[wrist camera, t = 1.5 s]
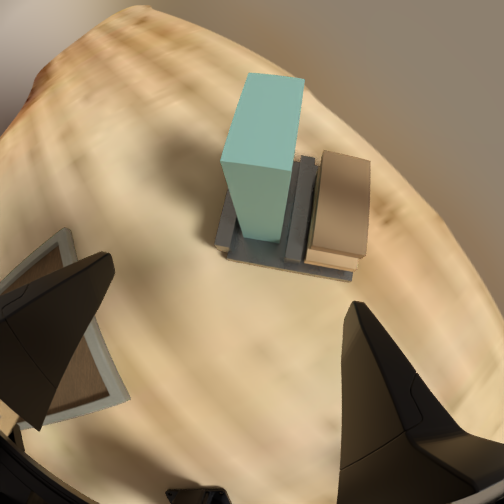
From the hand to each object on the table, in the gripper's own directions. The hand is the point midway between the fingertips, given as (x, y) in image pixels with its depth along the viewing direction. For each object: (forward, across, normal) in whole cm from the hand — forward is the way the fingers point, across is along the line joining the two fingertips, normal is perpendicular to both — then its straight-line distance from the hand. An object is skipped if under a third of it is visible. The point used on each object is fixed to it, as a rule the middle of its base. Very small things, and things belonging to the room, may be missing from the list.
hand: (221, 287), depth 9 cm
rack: (+15, -3, +4) cm, 16 cm away
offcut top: (+13, -6, +1) cm, 15 cm away
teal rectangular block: (+15, 0, +3) cm, 15 cm away
